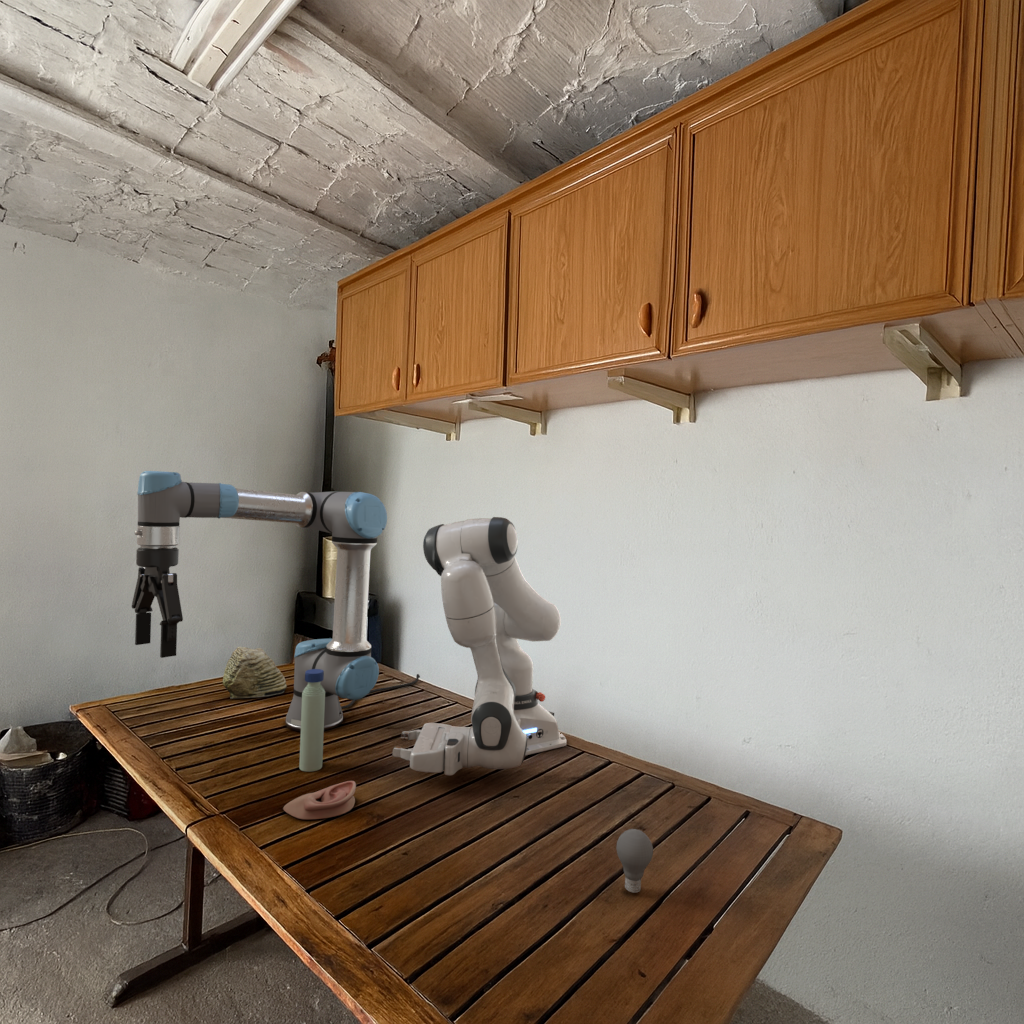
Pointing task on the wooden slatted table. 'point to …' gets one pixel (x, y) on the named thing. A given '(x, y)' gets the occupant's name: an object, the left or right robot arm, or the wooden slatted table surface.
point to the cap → (314, 675)
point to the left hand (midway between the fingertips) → (155, 650)
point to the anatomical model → (323, 802)
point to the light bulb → (634, 857)
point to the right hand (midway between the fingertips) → (397, 743)
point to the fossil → (252, 674)
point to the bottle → (312, 727)
